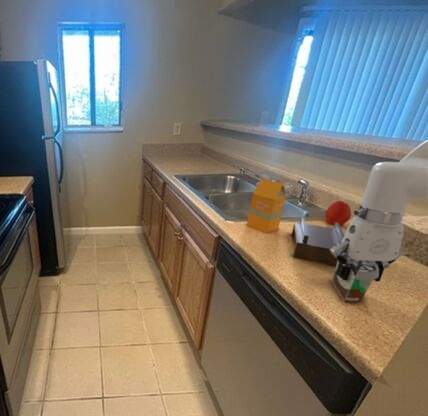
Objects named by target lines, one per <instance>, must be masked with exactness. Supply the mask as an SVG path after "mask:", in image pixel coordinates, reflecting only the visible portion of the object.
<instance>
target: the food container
mask: <svg viewBox="0 0 428 416" xmlns="http://www.w3.org/2000/svg"><path fill="white" fill-rule="evenodd" d="M342 253H343V252H341V253H340V254H342ZM348 258H349V256H348V257H347V258H346V259H345V260H347V259H348ZM338 264H339V262H338V261H337V264H336V266H335V268H334V271H333V272H334V273H333V276H332V280H331V282H332V284H333V286H334V287H335V289H336V290H337V292H338V294H339V295H340V298H341V299H342V300H343V302H344V303H348V304H358V303H361V301H362V300H363V299H364V297H365V295H366V293H367V292H368V289H369V288H370V286H371V284H372V282H373V281H375V280H374V279H377V278H378V277H379V268H378V265H377V264H376V263H375V261H360V260H354V261H353V262H352V263H351V264H350V265H349V267H351V270H350V273H349V276H348V279H347V280H343V279H341V278H340V277H339V276H338V275H337V274H336V270H337V267H338Z"/></svg>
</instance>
